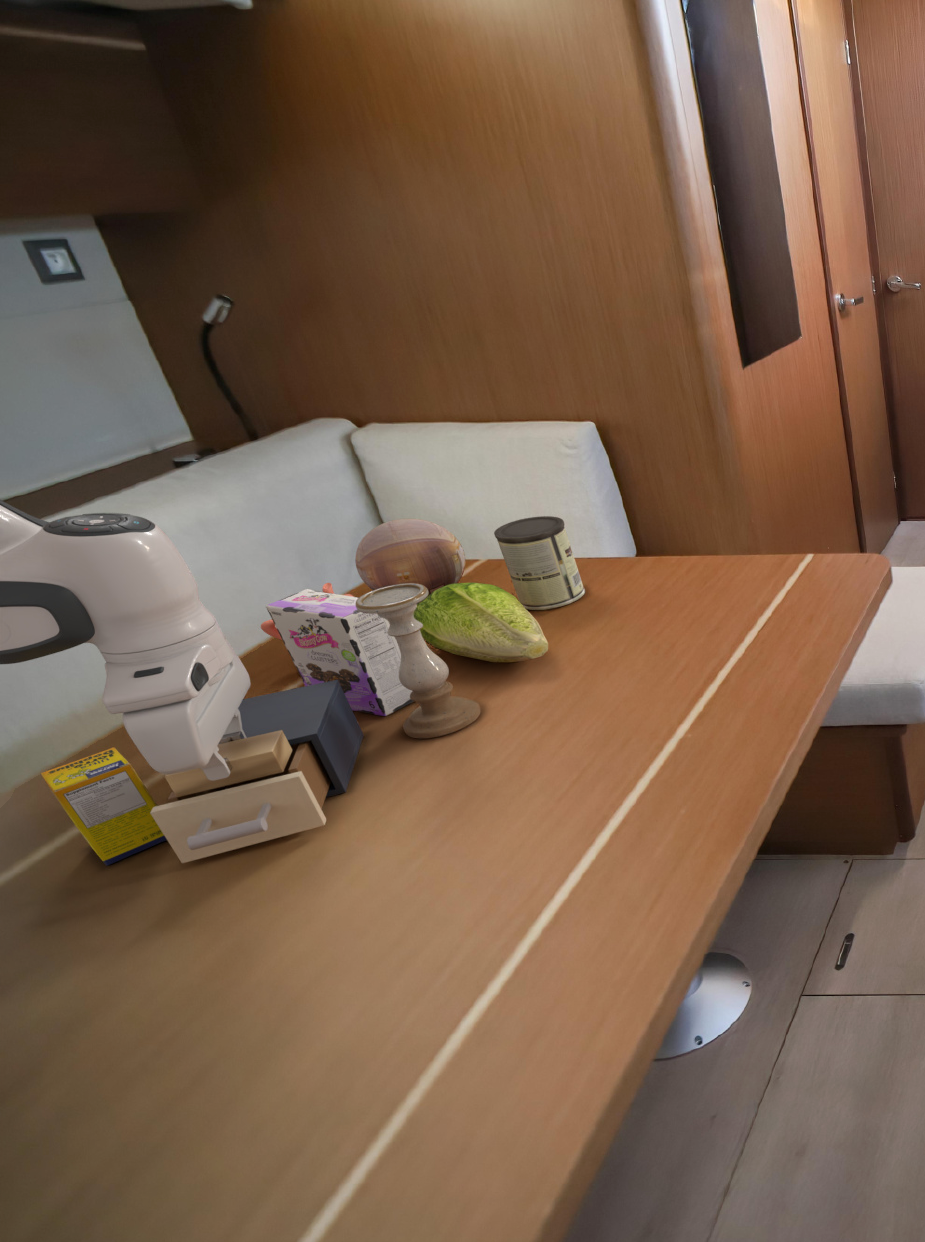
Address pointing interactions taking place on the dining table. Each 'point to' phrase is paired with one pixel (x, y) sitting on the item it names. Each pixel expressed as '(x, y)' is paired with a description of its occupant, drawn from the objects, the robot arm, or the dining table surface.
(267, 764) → the wooden rectangular block
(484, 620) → the lettuce
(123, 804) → the supplement box
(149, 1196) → the dining table surface
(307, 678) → the candy box
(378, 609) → the candle holder
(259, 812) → the drawer
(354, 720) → the cabinet
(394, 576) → the ornament
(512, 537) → the coffee can
